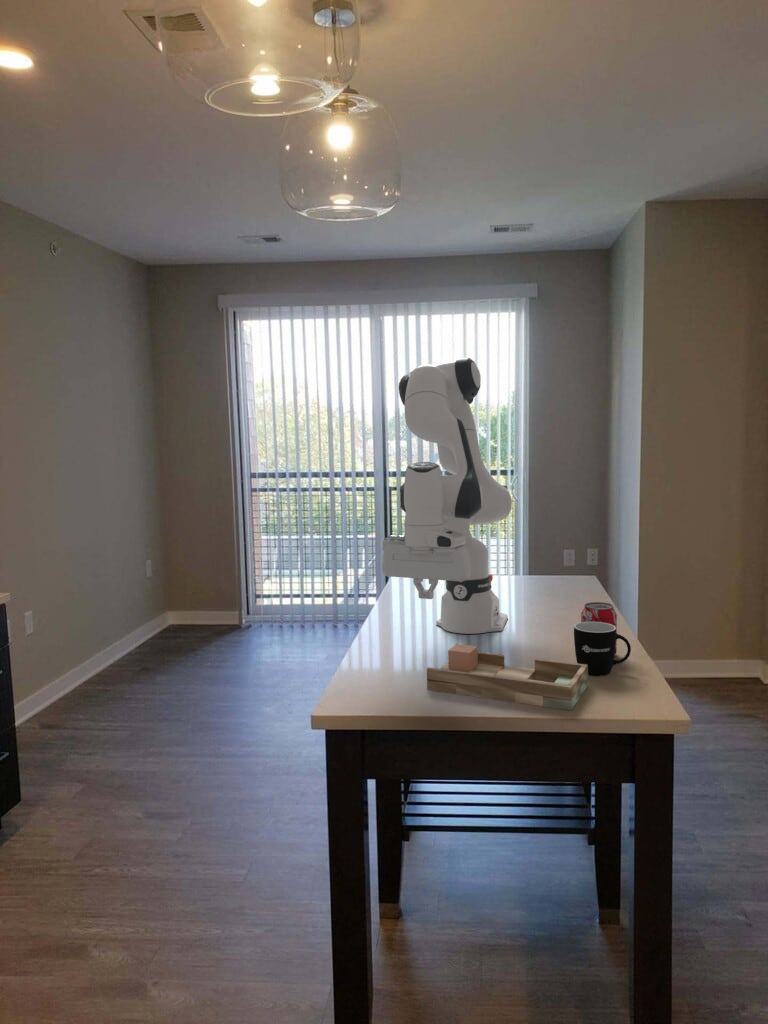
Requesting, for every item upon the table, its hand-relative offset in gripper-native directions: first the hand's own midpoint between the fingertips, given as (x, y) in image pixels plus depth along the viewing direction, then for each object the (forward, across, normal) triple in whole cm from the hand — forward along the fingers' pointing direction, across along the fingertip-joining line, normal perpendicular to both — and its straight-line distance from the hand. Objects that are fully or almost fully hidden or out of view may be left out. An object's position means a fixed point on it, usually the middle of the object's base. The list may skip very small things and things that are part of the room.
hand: (426, 598), depth 166 cm
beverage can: (+17, +32, +26) cm, 45 cm away
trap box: (+17, +20, -3) cm, 26 cm away
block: (+14, +8, 0) cm, 17 cm away
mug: (+17, +35, +14) cm, 42 cm away
